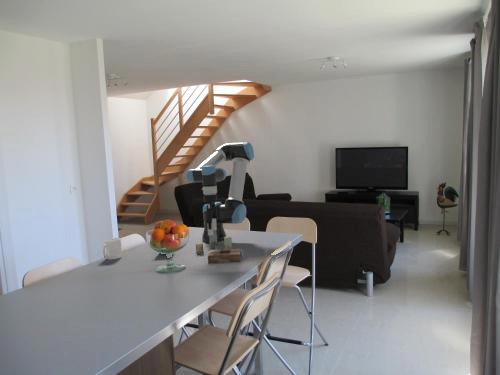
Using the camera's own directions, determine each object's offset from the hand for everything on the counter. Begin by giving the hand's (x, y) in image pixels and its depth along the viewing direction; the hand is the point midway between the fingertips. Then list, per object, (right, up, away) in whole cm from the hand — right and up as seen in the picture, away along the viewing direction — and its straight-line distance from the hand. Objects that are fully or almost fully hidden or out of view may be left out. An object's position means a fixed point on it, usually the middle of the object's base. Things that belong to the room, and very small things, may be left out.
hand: (212, 232), depth 224 cm
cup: (-55, -15, +1) cm, 57 cm away
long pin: (+1, -11, +2) cm, 11 cm away
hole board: (+8, -12, -15) cm, 21 cm away
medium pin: (+9, -11, +1) cm, 14 cm away
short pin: (-7, -11, +2) cm, 14 cm away
